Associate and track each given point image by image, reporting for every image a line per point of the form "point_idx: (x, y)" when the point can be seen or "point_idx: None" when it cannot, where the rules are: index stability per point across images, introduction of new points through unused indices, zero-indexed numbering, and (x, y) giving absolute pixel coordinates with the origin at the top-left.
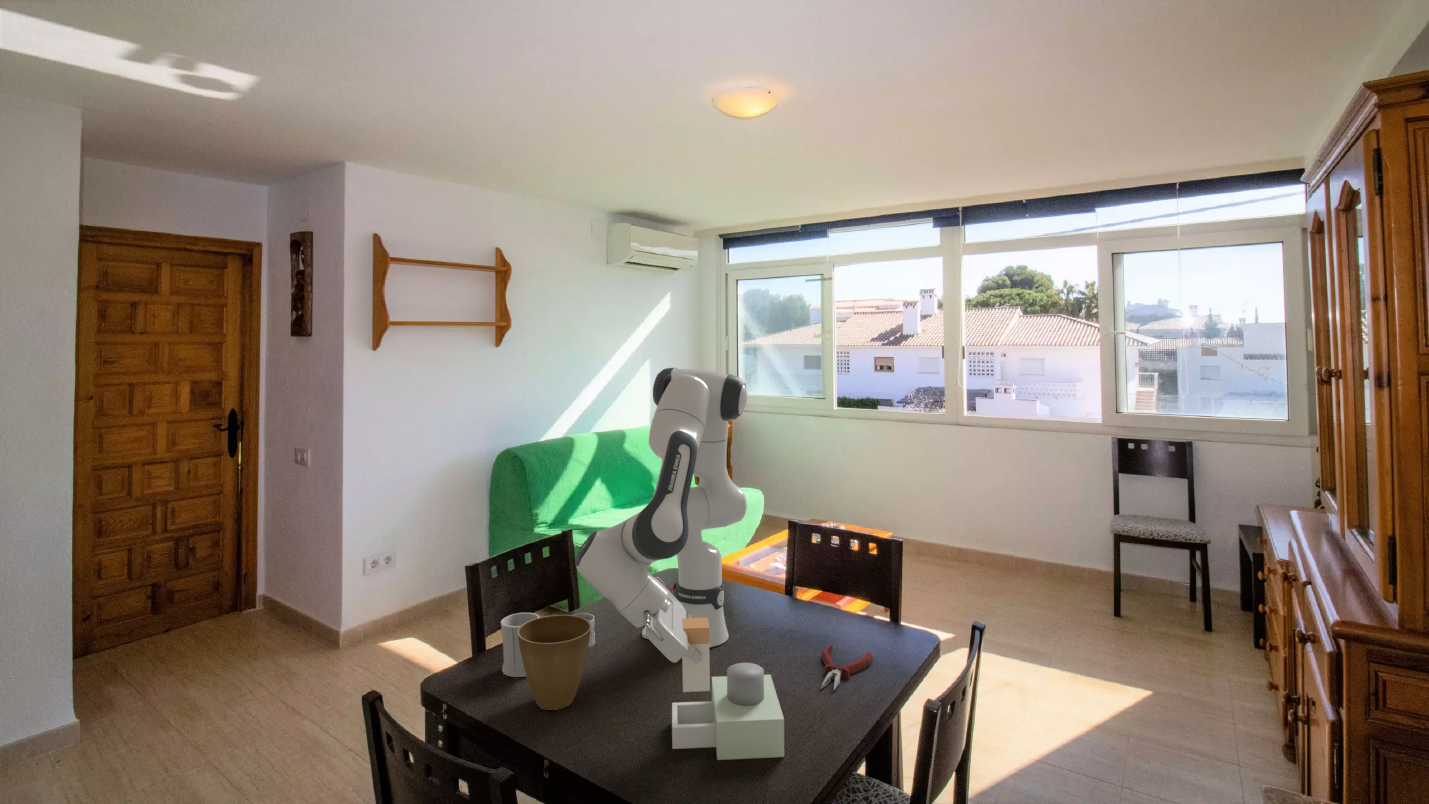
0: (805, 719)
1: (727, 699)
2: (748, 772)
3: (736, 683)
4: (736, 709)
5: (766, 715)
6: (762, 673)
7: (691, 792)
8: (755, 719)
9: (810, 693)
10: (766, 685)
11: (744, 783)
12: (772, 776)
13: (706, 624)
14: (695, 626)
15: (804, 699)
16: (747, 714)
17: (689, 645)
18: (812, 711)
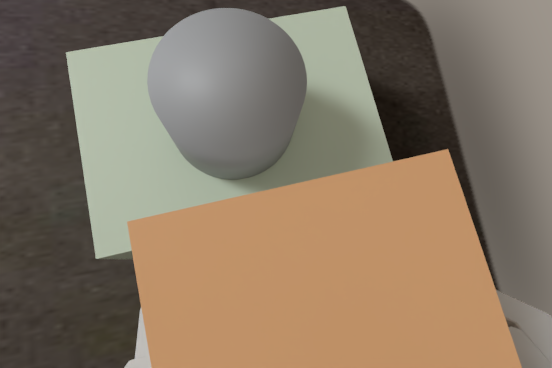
0: (160, 21)
1: (260, 175)
2: (392, 132)
3: (299, 114)
4: (319, 139)
5: (335, 52)
6: (240, 12)
7: (486, 242)
8: (363, 80)
9: (24, 8)
10: (148, 61)
11: (430, 137)
12: (394, 84)
13: (361, 195)
14: (452, 323)
15: (58, 22)
16: (340, 104)
17: (542, 327)
18: (120, 5)
